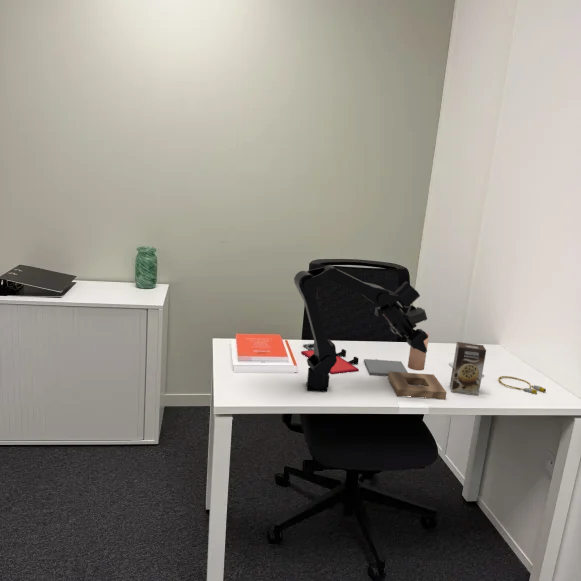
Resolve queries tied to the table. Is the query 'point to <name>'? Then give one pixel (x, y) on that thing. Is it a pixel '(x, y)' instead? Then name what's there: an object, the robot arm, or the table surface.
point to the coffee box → (467, 368)
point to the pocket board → (429, 381)
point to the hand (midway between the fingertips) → (422, 349)
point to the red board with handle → (340, 365)
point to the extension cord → (524, 388)
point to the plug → (417, 358)
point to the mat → (383, 367)
